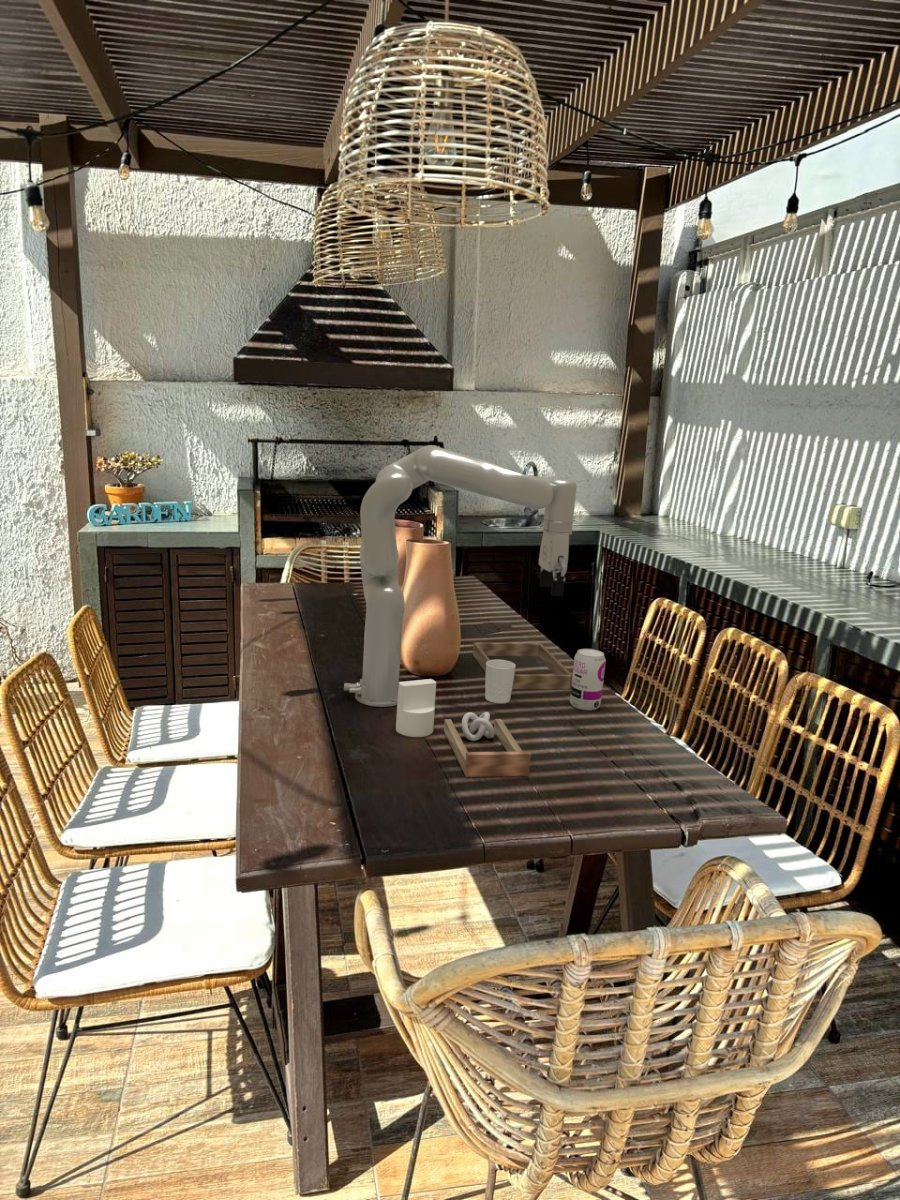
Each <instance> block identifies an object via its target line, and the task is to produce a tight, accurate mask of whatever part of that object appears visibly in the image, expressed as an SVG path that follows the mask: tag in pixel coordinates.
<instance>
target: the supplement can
mask: <svg viewBox="0 0 900 1200" xmlns="http://www.w3.org/2000/svg"><path fill="white" fill-rule="evenodd" d="M573 658H574V659H573V669H572V675H573V676H572V685H571V689H570V694H569V695H570V697H569V703H570V704H571V706H572V707H573V708H575V709H578V710H582V711H595V710H597V709H598V708H600V707H601V704H602V694H603V686H604V678H605V670H606V663H607V659H606V657H605V654H604V652H602V651H600V650H598V649H594V648H581V649H577V651H576V653H575V655H574V657H573Z"/></svg>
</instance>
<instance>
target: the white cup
mask: <svg viewBox="0 0 900 1200" xmlns="http://www.w3.org/2000/svg"><path fill="white" fill-rule="evenodd" d="M515 674H516V664H515V663H514V662H513V661H509V660H506V659H490V660H489V661H487V662H486V673H485V681H484V682H485V683H484V685H485V686H484V687H485V695H484V698H485V700H486V701H488V702H490V703H492V704H493V703H494V704H506V703H509V702H510V701H511V696H512V692H513V689H512V687H513V681H514V675H515Z"/></svg>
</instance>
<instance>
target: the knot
mask: <svg viewBox="0 0 900 1200" xmlns="http://www.w3.org/2000/svg"><path fill="white" fill-rule="evenodd" d="M490 716H491V714H490V713H489V711H485V712H483V713H481V714H480V715H479V716H478V715H477V714H475V713H474V712H471V711H470V712H466V713H465V714H464V715H463V716H462V720H461V729H462V730H461V731H462V732H463V735H464V736H465V738H466V739H467V740H469V741H471V742H476V741H478V740H480V739H481V738H482V737H485V738H486V739H493V738H494V737H495V734H496V733H495V731H494V726H493V724H491V722H490V719H491V718H490ZM470 719H471V720H472V722H471V724H470V726H468V724H469V720H470ZM477 730H478V731H477ZM476 731H477V732H476ZM475 732H476V734H475Z"/></svg>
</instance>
